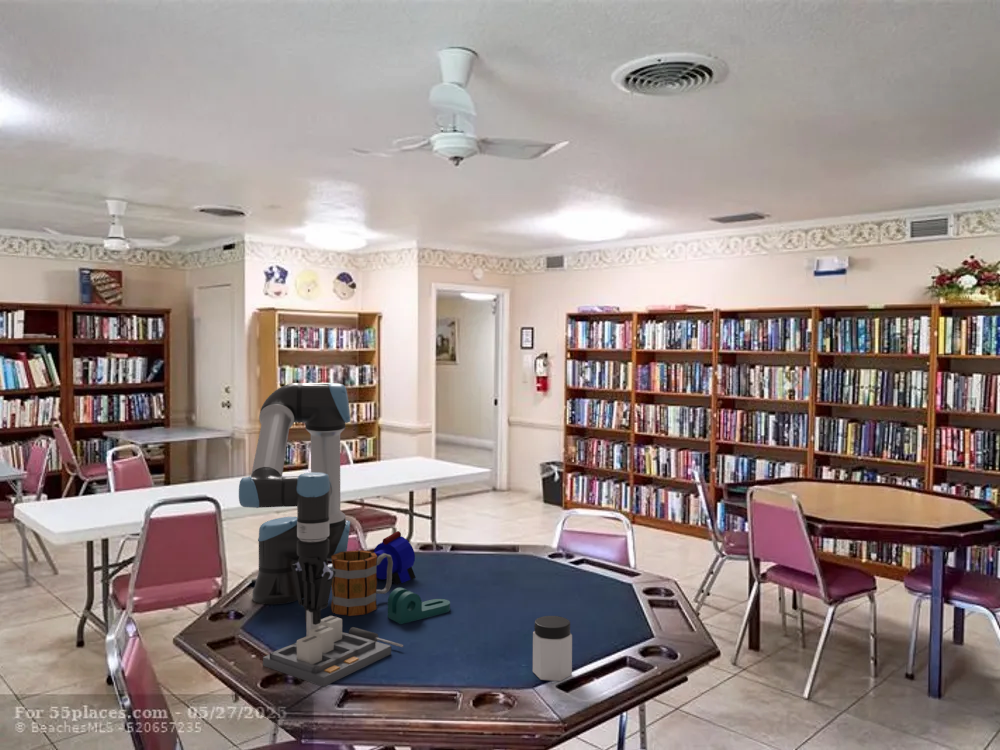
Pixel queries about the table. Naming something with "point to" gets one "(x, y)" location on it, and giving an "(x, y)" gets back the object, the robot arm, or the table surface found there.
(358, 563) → the mug
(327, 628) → the white grooved block
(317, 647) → the small white box
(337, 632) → the small white box
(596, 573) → the table surface
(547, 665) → the jar
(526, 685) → the table surface
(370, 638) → the screwdriver
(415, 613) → the bracket
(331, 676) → the switch bank
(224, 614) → the table surface
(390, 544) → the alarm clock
